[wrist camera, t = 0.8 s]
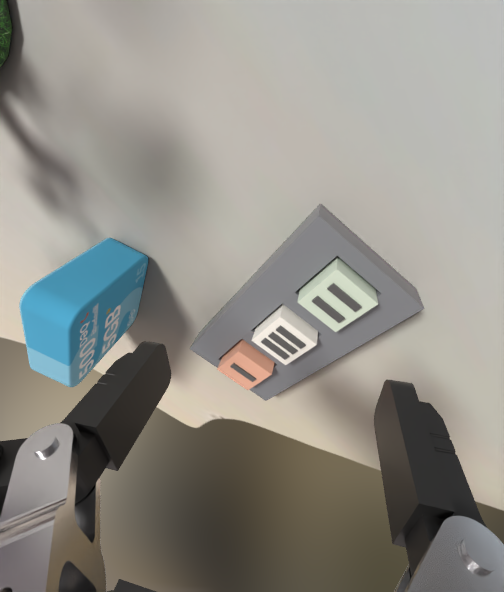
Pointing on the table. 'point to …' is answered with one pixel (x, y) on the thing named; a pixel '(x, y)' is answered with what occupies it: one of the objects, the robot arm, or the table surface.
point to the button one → (245, 365)
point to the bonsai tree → (4, 31)
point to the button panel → (285, 290)
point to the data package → (82, 310)
